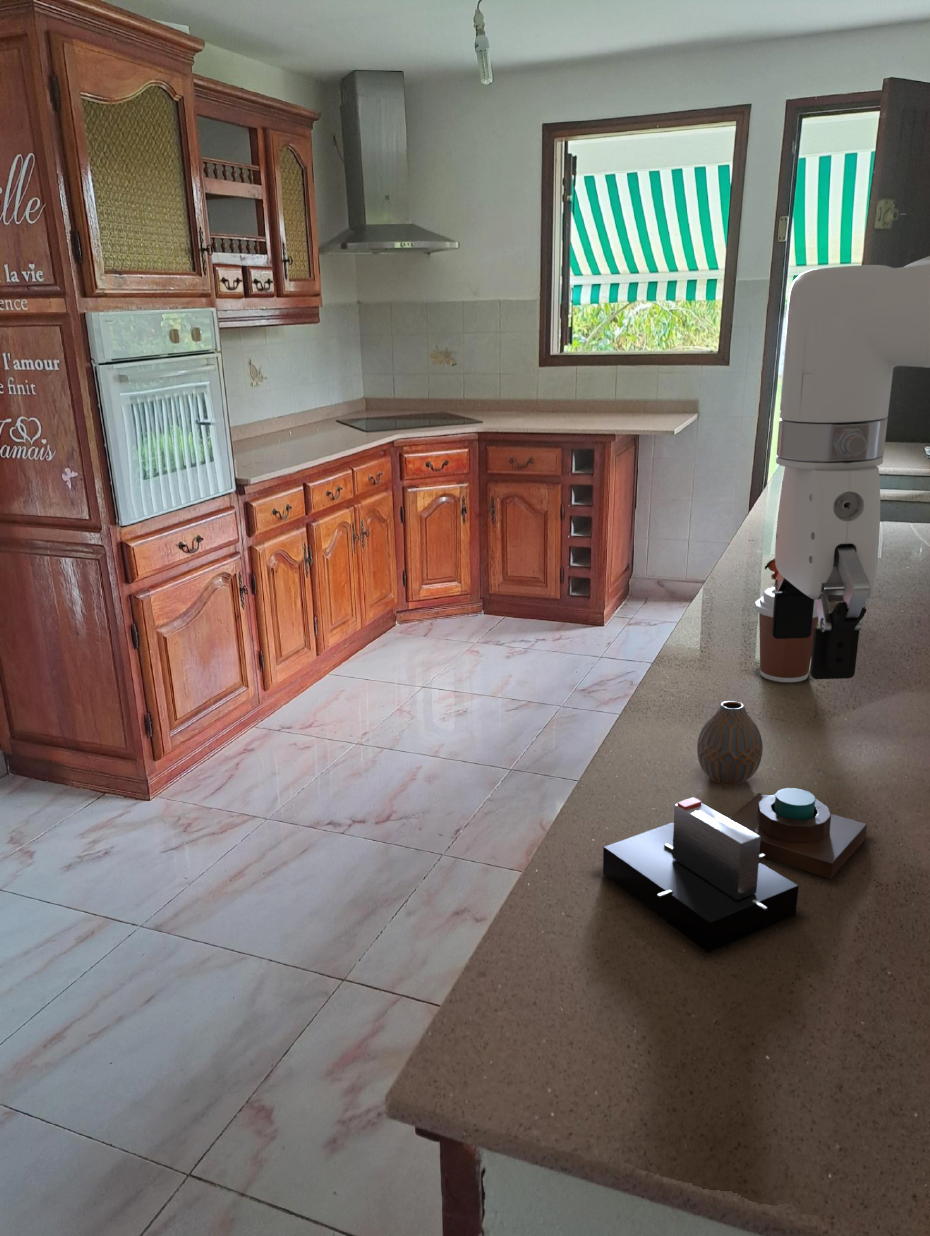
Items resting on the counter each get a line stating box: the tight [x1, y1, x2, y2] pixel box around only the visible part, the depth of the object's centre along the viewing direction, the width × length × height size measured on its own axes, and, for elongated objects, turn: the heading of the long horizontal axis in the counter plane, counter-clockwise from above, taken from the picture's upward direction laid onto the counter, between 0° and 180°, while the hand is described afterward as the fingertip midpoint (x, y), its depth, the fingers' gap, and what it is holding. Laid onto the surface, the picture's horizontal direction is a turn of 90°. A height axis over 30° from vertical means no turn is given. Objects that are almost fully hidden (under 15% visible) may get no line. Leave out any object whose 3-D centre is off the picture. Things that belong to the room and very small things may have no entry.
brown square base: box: [728, 792, 868, 880], centre depth 94 cm, size 11×9×4 cm
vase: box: [696, 700, 764, 786], centre depth 106 cm, size 7×7×9 cm
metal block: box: [672, 796, 761, 901], centre depth 83 cm, size 8×2×6 cm, turn 28°
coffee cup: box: [754, 586, 819, 683], centre depth 134 cm, size 9×9×12 cm
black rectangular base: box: [602, 821, 800, 953], centre depth 86 cm, size 15×12×3 cm
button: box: [774, 787, 816, 820], centre depth 93 cm, size 4×4×2 cm
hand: (810, 656), depth 78 cm, fingers open, 9 cm apart
